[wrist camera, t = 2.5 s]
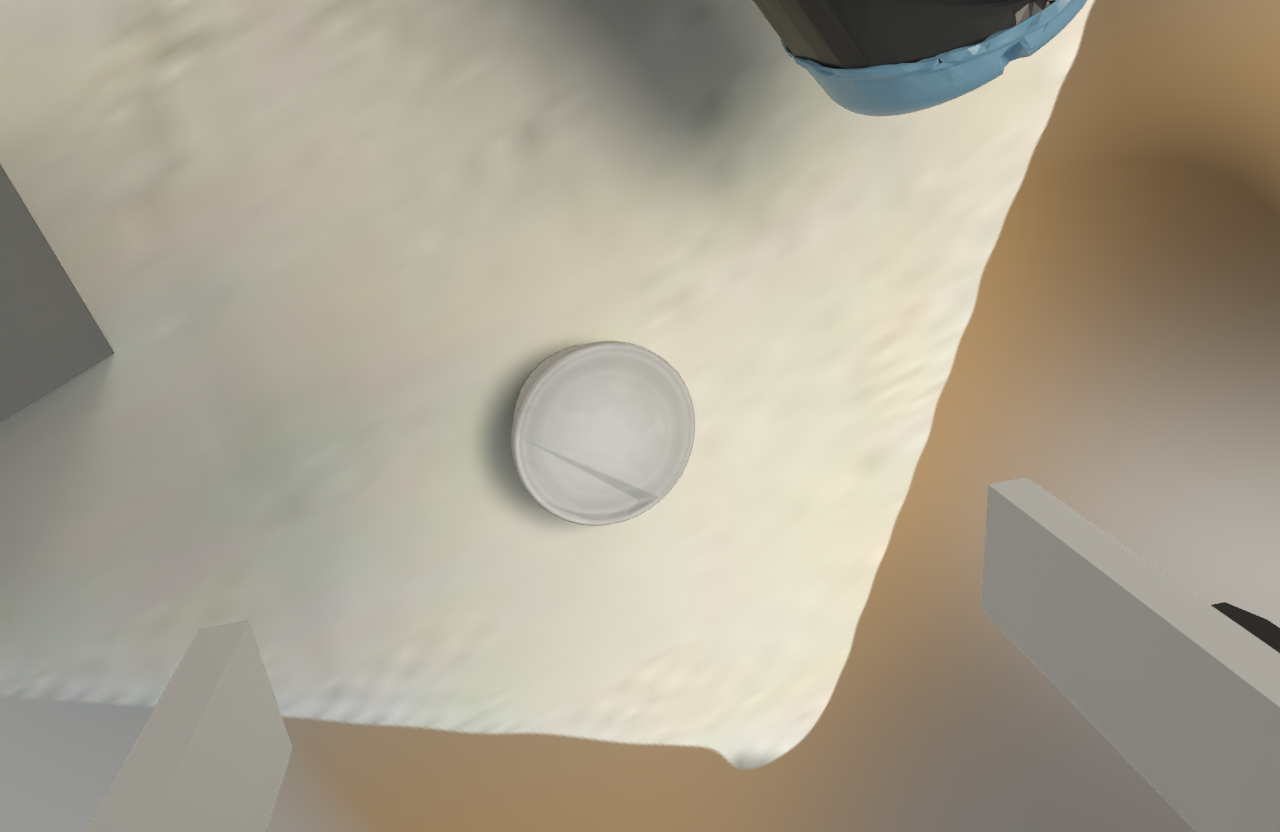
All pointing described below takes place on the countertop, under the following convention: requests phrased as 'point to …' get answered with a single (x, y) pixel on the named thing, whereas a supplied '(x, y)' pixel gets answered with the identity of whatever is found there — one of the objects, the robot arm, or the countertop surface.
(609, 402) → the ramekin
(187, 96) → the countertop surface
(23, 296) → the stand
